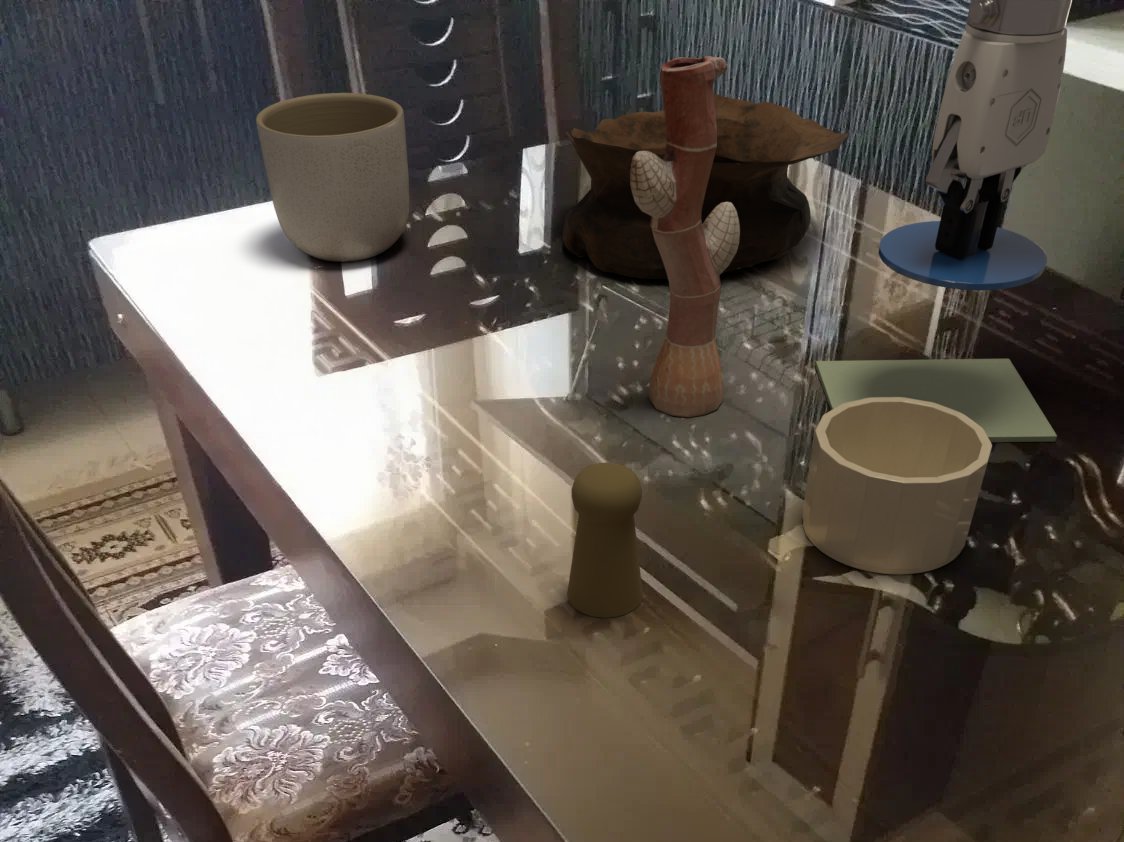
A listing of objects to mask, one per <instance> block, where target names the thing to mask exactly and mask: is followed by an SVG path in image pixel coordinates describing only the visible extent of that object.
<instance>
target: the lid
mask: <svg viewBox="0 0 1124 842" xmlns="http://www.w3.org/2000/svg"><path fill="white" fill-rule="evenodd" d="M989 201H990V199H989V198H988V197H987V196H985V195H982V194H978V193H977V195H976V199H975V203H974V206H973V208H972V210H973V211H976V212H977V214H976V219H975V223H974V227H973V231H972V236H971V240H970V244H969V248H968V253H967V255H966V257H965V258H962V259H957V258H955V257H953V256H950V255H948V254H945V253H943V252H940V251H938V250H936V248H935V243H936V239H937V234H938V229H939V225H940V220H931V221H921V222H914V223H909V224H906V225H902V226H899V227H896V228H894V229H892V230H890V231H888V232H887V233H886V234H884V235H883V236H882V238H881V239H880V242H879V244H878V256H879V258H880V260H881V261H882V263H883V264H884V265H885V266H886V267H888V268H889V269H890V270H892V271H893V272H895V273H897V274H899V275H901V276H903V277H905V278H908V279H910V280H913V281H916V282H919V283H922V284H926V285H931V286H935V287H940V288H945V289H953V290H963V291H995V290H1005V289H1006V290H1007V289H1011V288H1016V287H1020V286H1023V285H1026V284H1029V283H1031V282H1033V281H1035V280H1037V279H1038V278H1040V277H1041V275H1042V274H1043V273H1044V271H1045V269H1046V266H1047V263H1048V257H1047V254H1046V252H1045V250H1044V249H1043V248H1042V247H1041V246H1040V245H1039V244H1037V243H1036V242H1035V241H1034V240H1033V239H1030V238H1028V237H1027V236H1024V235H1022V234H1020V233H1017V232H1015V231H1012V230H1009V229H1005V228H1002V227H998V226H997V230H996V234H995V238H994V242H993V246H992V248H991V249H988V250H983V249H981V248H978V247H979V243H980V238H981V234H982V230H983V226H984V222H985V218H986V213H987V209H988V205H989Z"/></svg>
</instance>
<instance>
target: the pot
mask: <svg viewBox="0 0 1124 842" xmlns="http://www.w3.org/2000/svg"><path fill="white" fill-rule="evenodd" d="M992 449H993V443H992V442H990V440H989V438H988V436H987V434H986V433H985V431H984V429H983V428H982V427H981V426H979V425H978V424H976V423H975V422H974V421H972V420H971V419H970V418H968V417H967V416H965V415H964V414H962V413H960V412H958V411H955V410H952V409H950V408H947V407H944V406H942V405H939V404H937V403H933V402H928V401H922V400H916V399H910V398H904V397H902V398H901V397H871V398H865V399H861V400H856V401H852V402H847V403H843V404H841V405H839V406H837V407H836V408H834V409H832V410H829V411H827V412H826V413H824V414H823V415H822V416H821V418H820V420H819V422H818V424H817V426H816V428H815V430H814V436H813V443H812V449H811V456H810V461H809V467H808V474H807V480H806V487H805V494H804V500H803V506H802V513H801V516H802V526H803V531H804V532H805V535H806V537H807V538H808V540H809V541H810V542H811V544H812V545H813V546H814V547H815V548H817V550H818V551H820V552H821V553H823V554H824V555H825V556H827V557H829V558H831V559H833V560H834V561H836V562H838V563H841V564H843V565H845V566H848V567H850V568H853V569H858V570H862V571H865V572H869V573H875V574H883V575H913V574H920V573H921V574H922V573H925V572H930V571H934V570H937V569H939V568H942V567H944V566H946V565H948V564H949V563H951V562H952V561H954V560H955V559H956V558H957V557H958V556H959V555H960V554H961V553H962V551H963V550H964V548H965V546H966V542H967V539H968V535H969V532H970V528H971V525H972V520H973V517H974V513H975V510H976V506H977V502H978V499H979V496H980V491H981V489H982V485H983V482H984V478H985V473H986V470H987V466H988V464H989V459H990V457H991V452H992Z"/></svg>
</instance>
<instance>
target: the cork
mask: <svg viewBox="0 0 1124 842" xmlns="http://www.w3.org/2000/svg"><path fill="white" fill-rule="evenodd" d="M642 497H643V490H642V485H641V481H640V479H639V477H638V475H637V474H636V473H635V472H634V470H632V468H629V466H628V467H627V466H626V465H624V464H619V463H616V462H608V461H607V462H598V463H593V464H590V465H587V466H586V467H584V468H582V469H581V470H580V471H579V472H578V473H577V474H576V476H575V478H574V480H573V483H572V487H571V500H572V503H573V507H574V511H576V513H577V514H578V516H577V517H578V518H577V523H576V531H575V536H574V537H575V539H574V545H573V552H572V557H571V565H570V572H569V579H568V585H567V591H566V592H567V593H566V595H567V596H566V597H567V600H568V603H569V604H570V605H571V606H572V607H573V609H575V610H577V611H578V612H580V613H581V614H584V615H586V616H589V617H594V618H602V619H606V618H607V619H608V618H609V619H610V618H617V617H622V616H625V615H628V614H630V613H631V612H633V611H635V610H636V609H637V608H638V607H639V605H640V604H641V603H642V602H643V601H642V600H643V597H644V591H643V583H642V574H641V566H640V557H639V549H638V539H637V530H636V521H635V514H636V513H637V512H638V510H639V507H640V505H641V501H642Z"/></svg>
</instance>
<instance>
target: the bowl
mask: <svg viewBox="0 0 1124 842" xmlns="http://www.w3.org/2000/svg"><path fill="white" fill-rule="evenodd" d="M714 104H715V115H716V126H717V148H716V152H715V156H714V160H713V164H712V168H711V172H710V176H709V180H708V184H707V188H706V192H705V197H704V201H703V206H702V212H701V221H702V224H703V223H704V221H705V220H706V218H707V217H708V216H709V214H710V213H711V212H712V211H713V210H714V209H715V207H717V206H718V205H719V204H720V203H723V202H731V203H732V204H733V206H734V207H735V209H736V211H737V215H738V219H739V225H740V238H739V245H738V249H737V252H736V254H735V256H734V258H733V259H732V261H731V263H730V264H729V266H728V267H727V268H726V269H725V270H724V271H723V272H722V273H721V274H723V273H728V272H732V271H736V270H740V269H746V268H750V267H753V266H756V265H758V264H761V263H765V262H768V261H774V260H777V259H780V258H782V257H783V256H785V254H787V253H789V252H790V251H792V250H793V249H794V248H796V247H797V246H799V244H801V242H802V241H803V239H804V238H805V237H806V234H807V233H808V231H809V229H810V225H811V218H812V217H811V207H810V202H809V199H808V198H807V195H806V193H804V192H802V191H801V190H800V189H799V188H798V187H797V186H795V185H794V184H793V183H792V181H791V180H790V178H789V176H788V172H789V166H790V165H795V164H798V163H801V162H804V161H808V160H809V159H813V158H817V157H820V156H822V155H825V154H828V153H830V152H832V151H835V150H837V149H840V148H841V146H842V143H843V142H844V141H845V140H846V139H847V138H848V137H849V136H850V135H851V134H850V132H847V133H846V132H845V133H838V132H834V130H833V129H831V128H827V127H825V126H823V125H821V124H819V123H818V122H817V121H816V120H815V119H812V118H803V116H801V115H799V114H798V113H796V112H795V111H794V110H792V109H791V108H789V107H787V106H781V105H778V104H777V103H774V102H770V101H762V102H751V101H748V100H743V99H739V98H732V97H728V96H724V95H720V94H718V93H714ZM570 132H571V135H570V133H569V132H568V131H565V133H566V135H567V137H568V138H569V140H570V142H571V144H572V146H573V148H574V150H575V152H576V155H577V156H578V158H579V159H580V161H581V162H582V164H583V166H584V168H585V170H586V172H587V174H588V176H589V178H590V189H589V190H588V191H587V192H586V193H585V195H584V196H583V197H582V198H581V199H580V200H579V202H578V203H577V204H576V205H574V206H573V207H572V208H571V209H569V211H568V212H567V213H566V215H565V218H564V223H563V227H562V240H563V244H564V247H565V248H566V249H567V250H568V252H569V253H571V254H573V255H574V256H576V257H578V258H586V257H588V259H589V260H590V262H592V264H593V266H594V267H596V268H597V269H599V270H601V271H602V272H606V273H612V274H616V275H619V276H626V277H629V278H635V279H642V280H668V276H667V273H666V269H665V266H664V263H663V260H662V257H661V255H660V252H659V250H658V247H657V245H656V242H655V239H654V235H653V232H652V228H651V224H650V223H651V216H650V215H648V214H646V213H645V212H643V211H641V209H640V208H639V207H638V205H637V204H636V203H635V200H634V197H633V194H632V189H631V185H630V171H631V163H632V159H633V156H634V155H635V154H636V153H637V152H638V151H649V152H652V153H654V154H655V155H657V156H658V157H659V158H661V159H663V157H664V155H665V148H666V121H665V114H664V109H663V110H659V111H658V110H657V111H654V112H651V111H642V112H640V111H637V112H631V113H627V114H622V115H620V116H618V117H617V118H615V119H614V118H605V119H601V121H600V123H599V124H598V126H597V127H596V129H595V131H592V132H588V131H585V130H582V129H579V128H576V127H573V129H572V130H570Z"/></svg>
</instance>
